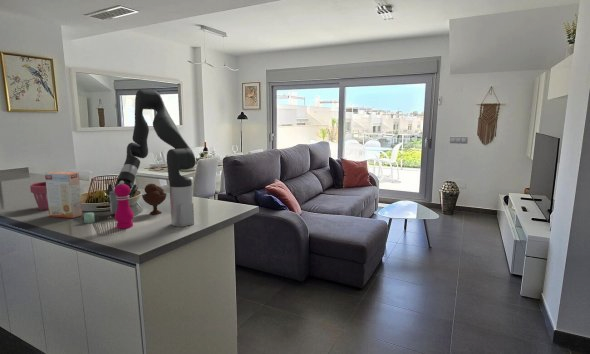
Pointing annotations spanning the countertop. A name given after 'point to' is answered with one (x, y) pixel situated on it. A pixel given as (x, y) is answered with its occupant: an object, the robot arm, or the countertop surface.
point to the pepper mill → (123, 206)
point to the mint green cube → (89, 217)
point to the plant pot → (40, 195)
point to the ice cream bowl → (154, 197)
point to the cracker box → (63, 194)
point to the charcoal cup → (113, 202)
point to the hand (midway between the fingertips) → (116, 203)
